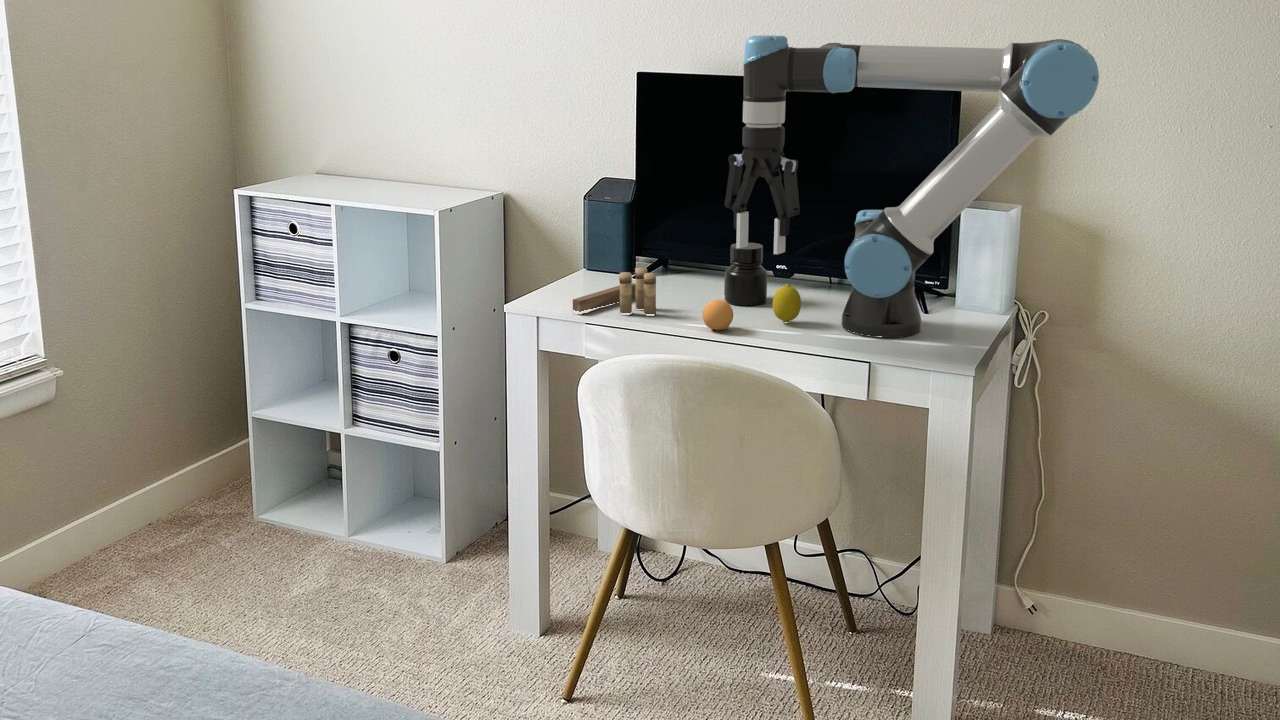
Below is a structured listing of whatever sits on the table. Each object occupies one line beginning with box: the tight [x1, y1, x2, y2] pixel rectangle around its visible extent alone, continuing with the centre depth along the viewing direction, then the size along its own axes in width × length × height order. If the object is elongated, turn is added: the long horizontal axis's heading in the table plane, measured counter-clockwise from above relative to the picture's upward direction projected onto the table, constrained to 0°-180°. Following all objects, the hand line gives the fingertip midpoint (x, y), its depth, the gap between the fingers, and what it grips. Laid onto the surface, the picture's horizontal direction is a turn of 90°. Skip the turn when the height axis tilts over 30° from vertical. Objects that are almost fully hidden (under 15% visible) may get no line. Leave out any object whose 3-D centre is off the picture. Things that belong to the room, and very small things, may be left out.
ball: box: [701, 298, 734, 331], centre depth 226 cm, size 6×6×6 cm
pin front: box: [643, 272, 657, 314], centre depth 236 cm, size 2×2×8 cm
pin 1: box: [618, 271, 633, 313], centre depth 237 cm, size 2×2×8 cm
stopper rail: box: [572, 282, 636, 312], centre depth 244 cm, size 2×18×3 cm, turn 141°
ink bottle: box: [723, 242, 768, 307], centre depth 245 cm, size 10×9×12 cm
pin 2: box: [634, 267, 648, 309], centre depth 240 cm, size 2×2×8 cm
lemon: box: [772, 283, 802, 323], centre depth 230 cm, size 6×6×8 cm
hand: (760, 249), depth 216 cm, fingers open, 8 cm apart
